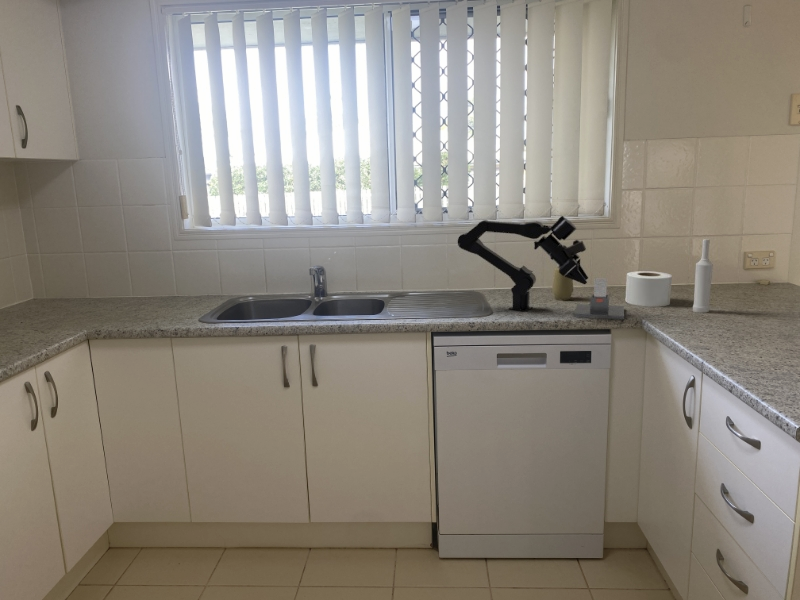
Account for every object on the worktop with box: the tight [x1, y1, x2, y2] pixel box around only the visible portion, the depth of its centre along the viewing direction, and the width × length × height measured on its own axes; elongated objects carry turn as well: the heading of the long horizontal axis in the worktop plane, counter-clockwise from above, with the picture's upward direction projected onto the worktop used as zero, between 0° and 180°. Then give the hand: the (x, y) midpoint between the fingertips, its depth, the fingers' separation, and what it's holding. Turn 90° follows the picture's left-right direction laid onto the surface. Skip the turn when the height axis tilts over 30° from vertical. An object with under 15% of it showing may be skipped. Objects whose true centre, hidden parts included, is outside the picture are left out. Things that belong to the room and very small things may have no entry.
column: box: [593, 277, 608, 298], centre depth 202 cm, size 4×4×11 cm
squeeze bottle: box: [551, 263, 574, 301], centre depth 226 cm, size 8×8×18 cm
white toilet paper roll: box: [625, 270, 673, 308], centre depth 217 cm, size 16×15×11 cm
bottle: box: [692, 238, 714, 314], centre depth 199 cm, size 5×5×25 cm
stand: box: [573, 293, 625, 320], centre depth 202 cm, size 16×16×6 cm
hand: (586, 281), depth 202 cm, fingers open, 9 cm apart
